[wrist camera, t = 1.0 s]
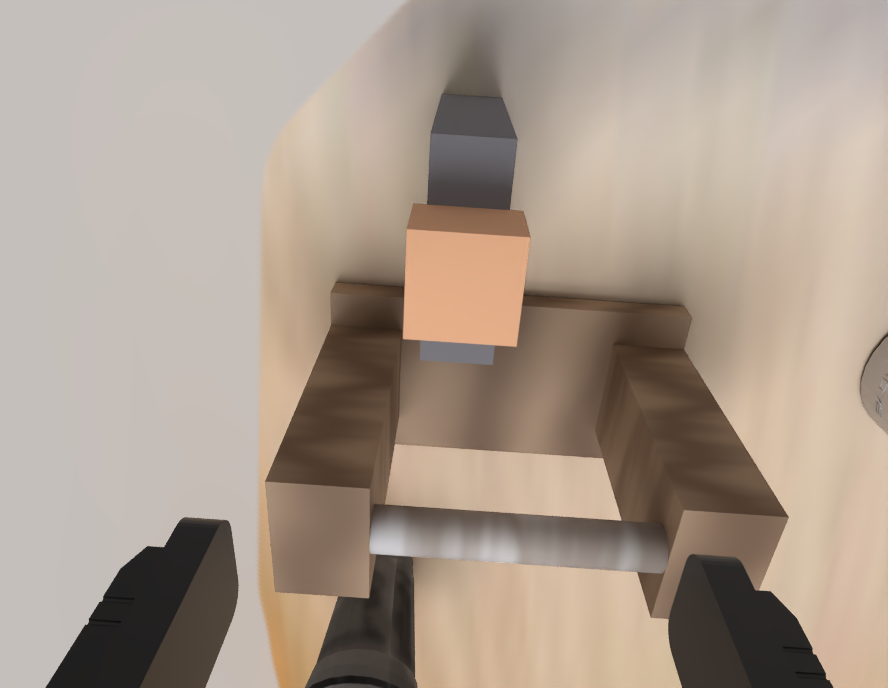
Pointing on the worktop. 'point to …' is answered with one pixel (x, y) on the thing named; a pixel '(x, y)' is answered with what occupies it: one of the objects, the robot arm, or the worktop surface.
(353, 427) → the hook stand
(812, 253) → the worktop surface
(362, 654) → the beverage cup
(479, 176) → the peach and grey blocks
